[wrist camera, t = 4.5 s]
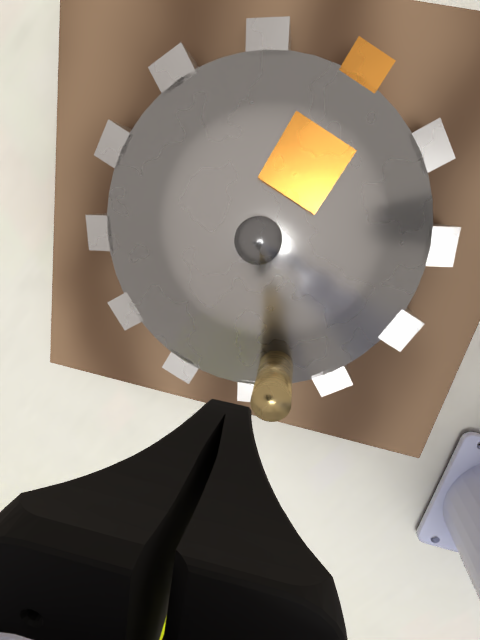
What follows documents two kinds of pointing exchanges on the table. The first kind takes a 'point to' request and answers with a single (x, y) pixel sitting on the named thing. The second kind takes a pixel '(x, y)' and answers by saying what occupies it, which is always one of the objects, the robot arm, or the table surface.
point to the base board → (306, 37)
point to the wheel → (271, 215)
